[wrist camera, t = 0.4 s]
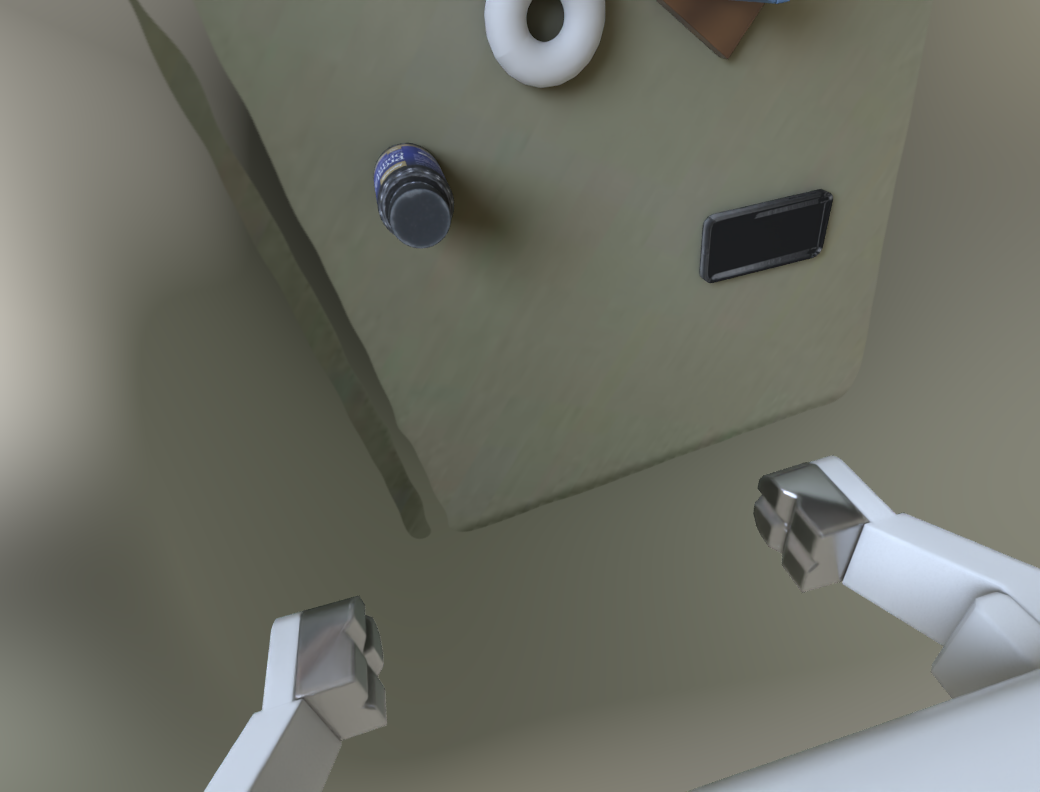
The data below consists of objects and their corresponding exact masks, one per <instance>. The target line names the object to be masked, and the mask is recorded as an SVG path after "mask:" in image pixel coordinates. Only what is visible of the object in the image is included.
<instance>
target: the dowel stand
mask: <svg viewBox="0 0 1040 792" xmlns="http://www.w3.org/2000/svg"><path fill="white" fill-rule="evenodd" d="M656 1H657V2H659V3H660V4H661V5H662V6H663V7H664V8H665V9H666V10H667V11H669V12H670V13H671V14H672V15H673V16H674V17H675V18H676V19H678V20H679V21H680V22H681V23H682V24H683V25H684V26H685V27H686V28H688V29H689V30H690V31H691V32H692V33H693V34H694V35H695V36H696V37H698V38H699V39H700V40H701V41H702V42H703V43H704V44H705V45H707V46H708V47H709V48H710V49H711V50H712V51H713V52H714V53H715V54H717V55H718V56H719V57H722V58H726V59H728V58H729V57H730V55H731V54H732V52H733V51H734V49H735V48H736V46H737V45H738V43H739V42H740V40H741V39H742V37H743V35H744V34H745V32H746V31H747V29H748V28H749V26H750V25H751V23H752V22H753V20H754V19H755V17H756V16H757V14H758V13H759V11H760V10H761V8H762V7H763V5H764V4H765V3H761V2H748V1H735V0H656Z"/></svg>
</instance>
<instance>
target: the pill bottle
mask: <svg viewBox="0 0 1040 792" xmlns="http://www.w3.org/2000/svg"><path fill="white" fill-rule="evenodd" d="M374 185H375V191H376V198H377V204H378V211H379V214H380V217H381V220H382V221H383V223H384V225H385V226H386V228H387V229H388V230H389V231H390V232H391V233H393V234H394V235H395V236H396V237H397V238H398V239H399V240H400V241H401V242H402V243H404V244H406V245H408V246H410V247H414V248H428V247H431V246H434V245H436V244H437V243H439V242H440V241H441V240H442V239H443V238H444V237H445V236H446V234H447V233H448V231H449V228H450V224H451V219H452V216H453V212H454V198H453V194H452V191H451V189H450V187H449V185H448V183H447V181H446V179H445V177H444V175H443V173H442V170H441V168H440V166H439V164H438V162H437V161H436V159H435V158H434V156H433V155H432V154H431V153H429V152H428V151H427V150H426V149H424V148H423V147H421V146H418V145H416V144H411V143H403V144H398V145H394V146H391V147H389V148H388V149H387V150H385V151H384V152H383V153H382V155H381V156H380V157H379V159H378V160H377V163H376V165H375V169H374Z"/></svg>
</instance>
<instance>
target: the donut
mask: <svg viewBox="0 0 1040 792" xmlns="http://www.w3.org/2000/svg"><path fill="white" fill-rule="evenodd" d="M531 1H532V0H486V5H485V12H484V16H485V25H486V35H487V38H488V41H489V44H490V46H491V49H492V51H493V54H494V56H495V58H496V60H497V61H498V62H499V64H500V65H501V66H502V67H503V69H504V70H505V71H506V72H507V74H509V75H510V76H512V77H513V78H515V79H516V80H518V81H519V82H521V83H522V84H526V85H530V86H535V87H539V88H543V87H550V86H557V85H561V84H562V83H564V82H566V81H568V80H570V79H572V78H574V77H576V76H577V75H578V73H579V72H580V71H581V70H582V69H583V68H584V67H585V66H586V65H587V64H588V63H589V62H590V60H591V58H592V57H593V55H594V53H595V51H596V49H597V47H598V46H599V44H600V40H601V36H602V32H603V28H604V24H605V0H560V1H561V3H562V5H563V9H564V23H563V27H562V29H561V31H560V33H559V34H558V35H557V36H556V37H555V38H554V39H552V40H551V41H548V42H541V41H538V40H536V39H535V38H534V37H532V35H531V34H530V33H529V30H528V27H527V20H526V16H527V11H528V7H529V5H530V3H531Z"/></svg>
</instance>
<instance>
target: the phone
mask: <svg viewBox="0 0 1040 792" xmlns="http://www.w3.org/2000/svg"><path fill="white" fill-rule="evenodd" d="M832 202H833V196H832V194H831V193H829V192H827V191H825V190H822V189H819V190H814V191H810V192H806V193H802V194H797V195H793V196H789V197H785V198H780V199H776V200H772V201H768V202H763V203H759V204H755V205H751V206H746V207H742V208H738V209H733V210H729V211H725V212H721V213H716V214H713V215H710V216H709V217H708V218H707V219H706V220H705V222H704V224H703V232H702V245H701V259H700V276H701V277H702V278H703V279H704V280H705V281H706V282H708V283H714V282H718V281H722V280H726V279H730V278H734V277H738V276H742V275H746V274H750V273H754V272H758V271H762V270H766V269H770V268H774V267H778V266H782V265H786V264H790V263H794V262H798V261H802V260H806V259H810V258H813V257H815V256H817V255H818V254H819V253H820V252H821V250H822V248H823V244H824V239H825V235H826V230H827V225H828V221H829V216H830V211H831V207H832Z"/></svg>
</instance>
